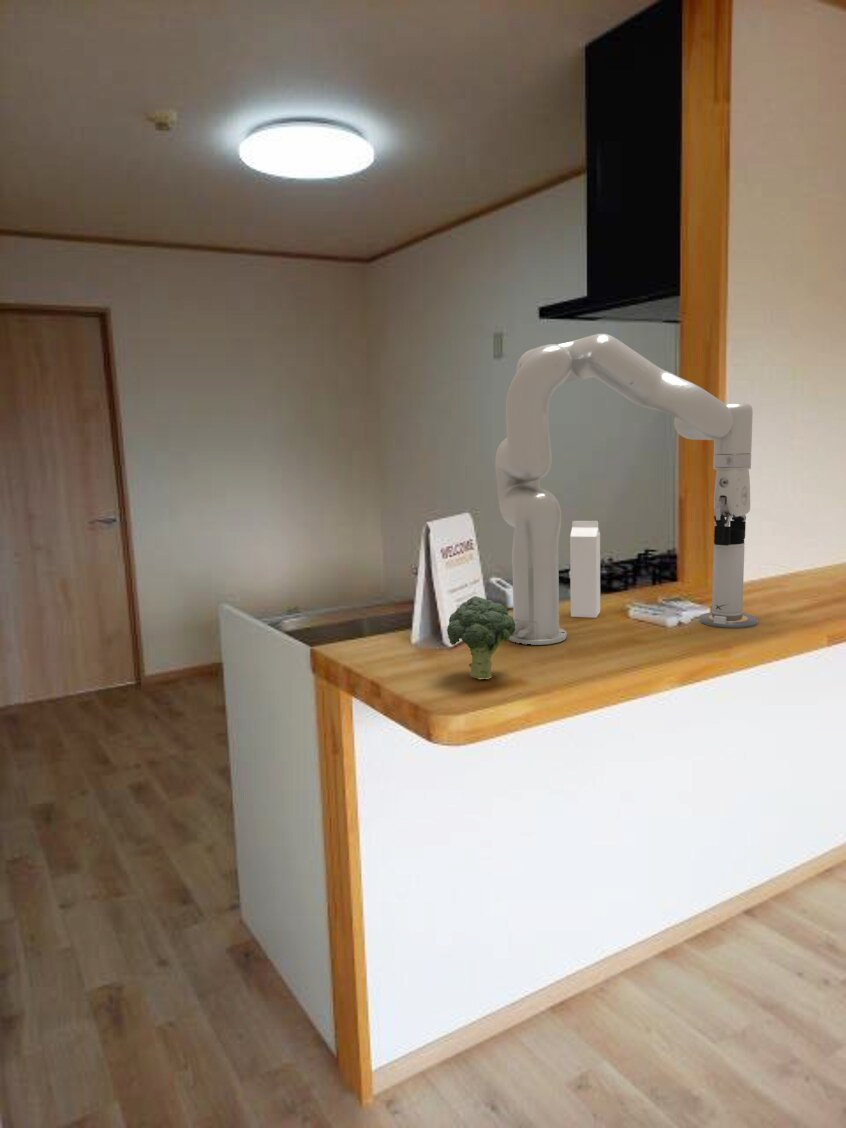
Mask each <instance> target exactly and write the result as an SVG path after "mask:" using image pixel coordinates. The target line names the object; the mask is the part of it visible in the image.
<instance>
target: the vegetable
mask: <svg viewBox="0 0 846 1128" xmlns="http://www.w3.org/2000/svg"><path fill="white" fill-rule="evenodd" d="M515 629H516V628H515V623H514V619H513V616H512V615H509V612H508V610H506V607H505V606H504V605H502V603H499V602H494V601H493V600H491V599H486V598H483V597H480V596H477V595H474V596H472V597H470V598H468V599H467V601H464V602H462V603H461V604H460V605H459V607H458V608H456V610H455V611H454V612H453V613H451V614H450V617H449V619H448V625H447V628H446V632H447V638H448V639H449V643H450V645H452V646H453V645H456V644H457V643H459V641H460V639H461V641H462V642H464V643H465V644H466V645H467V647H468V648H469V649H470V650H469V651H470V655H471V663H469V664H468V666H469V668H470V673H469V677H471V678H474V679H476V678H489V677H491V676H492V675H493V674H492V670H491V669H492V661H491V658H492V656H493V655H494V654H495V652H496V651H497V649H498V647H499V646H500V645H501V643H502V642H503V641H504V642H508V641H509V638H510V636H511V635H513V633H514V631H515ZM492 677H493V676H492ZM492 677H491V678H492Z"/></svg>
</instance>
